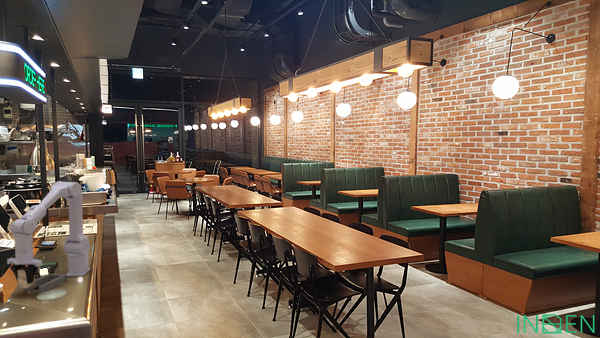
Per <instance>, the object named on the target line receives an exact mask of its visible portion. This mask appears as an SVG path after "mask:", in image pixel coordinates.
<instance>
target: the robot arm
mask: <svg viewBox="0 0 600 338" xmlns="http://www.w3.org/2000/svg"><path fill="white" fill-rule="evenodd" d="M82 189H83V188H82V185H81V184H80V183H78V182H76V181H71V182H70V181H59V180H58V181H56V182H55V183H54V184H53V185H51V186H50V190H49V192H48V193H47V194H46V196H45V197H43V199H42V200H41V201H40V203H39V204H35V205H31V207H29V210H27V211H26V212H25V213H24V215H22V216H21V218H18V219H16V220H14V221H13V222H11V223H12V224H11V226H10V232H11V233H12V234H13V238H14V249H15V250H14V251H15V257H10V258H7V259H6V260H7V261H6V264H7V265H11V264H12V265H11V266H9V269H10V271H12V272H13V274H14V277H15V279H16V282H17V283H18V270H20V269H22V268H23V269H24V271H25V273H26V279H27V284H30V283H32V282H33V281H34V277H35V274H36V271H37V269H38V268H39V266H42V263H43V260H40V259H37V258H34V246H33V245H34V243H33V233H34V232H35V231H36V228H37V226H38V223H39V222H40V221H41V220H42V219H43V218H44V217H45V216H46V215H47V209H49V208H50V207H51V206H52V205H53V204H54V203H56V201H57V200H59V199H63V198H64V199H65V200H66V201H68V221H69V222H68V224H69V226H68V227H69V228H68V231H69V232H68V233H69V234H68V236H66V237H65V238H64V244H63V251H64V252H65V254H66V256H67V261H68V262H67V265H68V267H67V268H68V270H67V271H68V272H66V274H65V275H67V277H81V276H82V277H83V276H84V275H86V274H87V273H88V272H89V271H91V267H90V266H89V255H88V253H89V251H90V250H91V249H90V248H91V245H90V242H89V237H88V236H86V235H85V233H84V228H83V227H84V226H83V224H84V223H83V221H84V218H83V214H84V213H83V194H82V193H83V192H82ZM35 278H36V277H35Z"/></svg>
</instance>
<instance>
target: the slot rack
mask: <svg viewBox="0 0 600 338" xmlns="http://www.w3.org/2000/svg"><path fill="white" fill-rule="evenodd" d="M48 280H51V281H49V282H46V281H48ZM44 282H46V283H44ZM67 282H68V276H67V275H66V274H62V273H60V274H58V273H53V272H52V273H50V274H48V275H45V276H43V277H37V278H35V285H33V286H31V287H29V288H22V289H23V292H25V293H27V292H29V291H31V290H34V289H36V288H38V291H37V292H38V294H41V293H43V292H46V291H50V290H53V289H54V288H56V287H58V286H61V285H62V284H65V283H67ZM42 283H44V284H42ZM41 284H42V285H41ZM37 286H38V287H37Z"/></svg>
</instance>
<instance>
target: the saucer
mask: <svg viewBox="0 0 600 338" xmlns="http://www.w3.org/2000/svg"><path fill="white" fill-rule="evenodd" d="M67 294H68V293H67V290H66V289H59V288H58V289H50V290H48V291H45V292H43V293H38V294H37V296H36V299H37V300H38V301H43V302H45V301H46V302H47V301H48V302H49V301H55V300H58V299H61V298H64V297H65V296H66V295H67Z"/></svg>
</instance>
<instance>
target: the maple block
mask: <svg viewBox="0 0 600 338" xmlns="http://www.w3.org/2000/svg"><path fill="white" fill-rule="evenodd" d="M35 280H36V277H34V281H33V282H32V283H30V284H27V279H26V273H25V271H24V269H23V268H22V269H20V270H18V282H17V287H18V288H20V289H21V288H22V289H23V288H29V287H31V286H33V285H35Z"/></svg>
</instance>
